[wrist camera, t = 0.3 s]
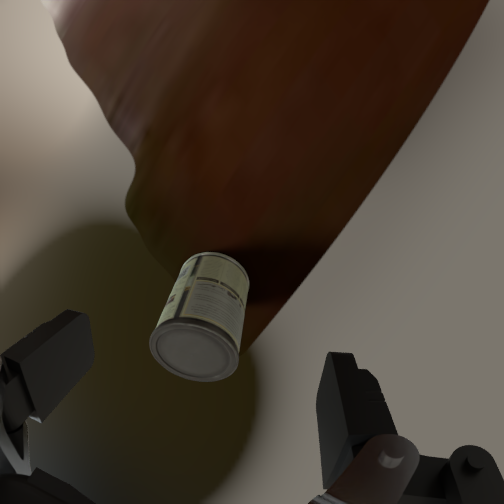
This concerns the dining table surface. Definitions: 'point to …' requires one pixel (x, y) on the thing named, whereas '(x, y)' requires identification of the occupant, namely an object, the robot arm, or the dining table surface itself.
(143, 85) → the dining table surface
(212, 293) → the coffee can
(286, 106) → the dining table surface
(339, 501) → the robot arm
